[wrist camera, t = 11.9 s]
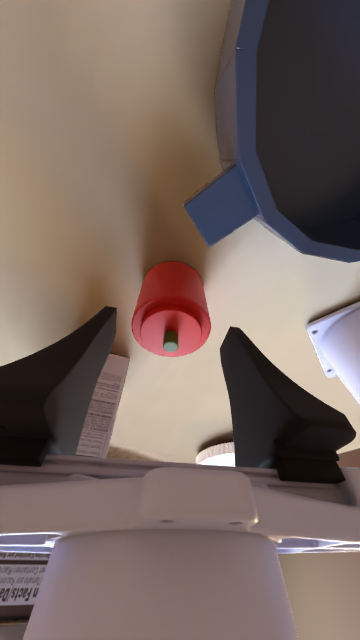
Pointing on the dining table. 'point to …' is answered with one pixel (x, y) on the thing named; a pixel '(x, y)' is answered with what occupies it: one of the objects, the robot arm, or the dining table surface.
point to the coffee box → (27, 567)
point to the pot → (288, 127)
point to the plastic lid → (217, 455)
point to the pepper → (171, 311)
